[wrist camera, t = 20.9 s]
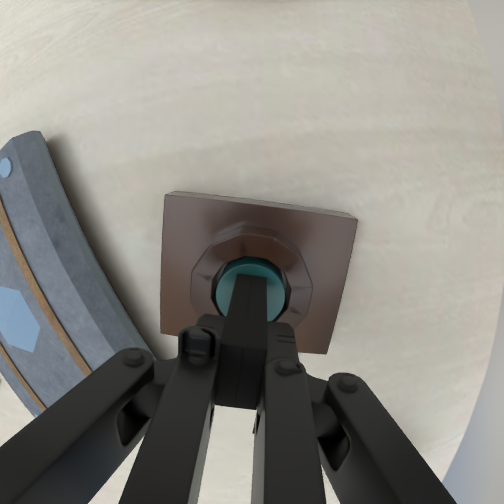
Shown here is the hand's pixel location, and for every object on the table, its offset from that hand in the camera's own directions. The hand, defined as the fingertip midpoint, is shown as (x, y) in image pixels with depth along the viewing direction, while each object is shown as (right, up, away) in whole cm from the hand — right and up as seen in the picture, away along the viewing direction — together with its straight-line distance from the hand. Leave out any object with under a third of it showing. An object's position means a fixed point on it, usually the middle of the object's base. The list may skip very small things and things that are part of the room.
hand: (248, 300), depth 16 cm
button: (0, +1, +2) cm, 2 cm away
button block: (0, +1, +4) cm, 5 cm away
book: (-17, -1, +6) cm, 18 cm away
